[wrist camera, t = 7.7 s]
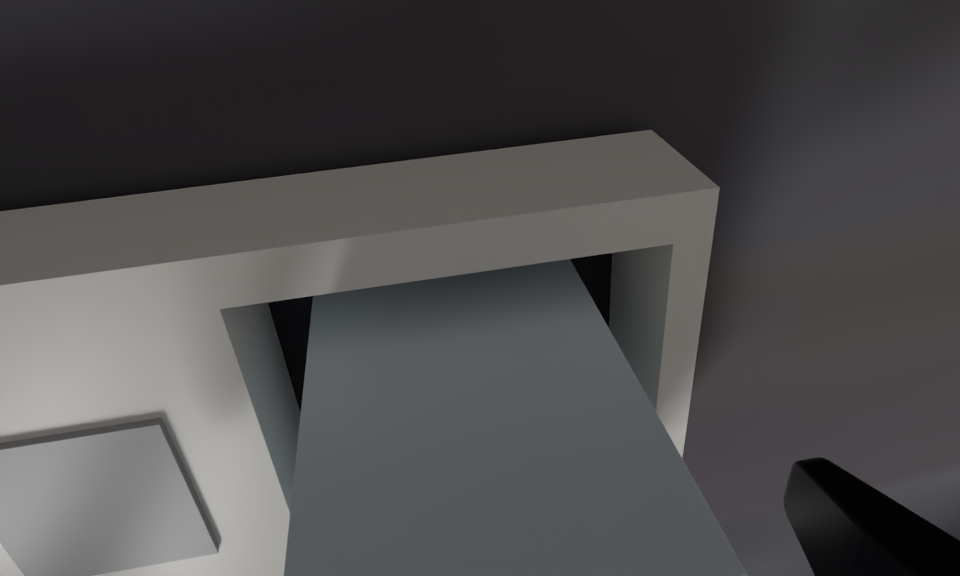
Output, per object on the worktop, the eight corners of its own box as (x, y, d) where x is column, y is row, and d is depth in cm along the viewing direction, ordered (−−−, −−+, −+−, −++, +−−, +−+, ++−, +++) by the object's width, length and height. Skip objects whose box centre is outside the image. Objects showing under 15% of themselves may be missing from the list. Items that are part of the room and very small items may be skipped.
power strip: (-97, 585, 14) (-202, 747, 11) (-395, 261, 10) (-673, 401, 7) (627, 457, 15) (682, 574, 13) (651, 129, 11) (741, 205, 9)
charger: (357, 445, 14) (358, 869, 8) (315, 268, 12) (271, 683, 6) (558, 412, 14) (701, 792, 8) (557, 236, 12) (755, 588, 6)
